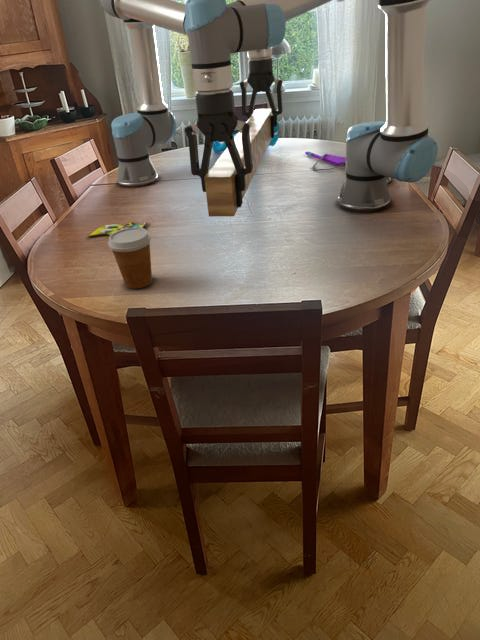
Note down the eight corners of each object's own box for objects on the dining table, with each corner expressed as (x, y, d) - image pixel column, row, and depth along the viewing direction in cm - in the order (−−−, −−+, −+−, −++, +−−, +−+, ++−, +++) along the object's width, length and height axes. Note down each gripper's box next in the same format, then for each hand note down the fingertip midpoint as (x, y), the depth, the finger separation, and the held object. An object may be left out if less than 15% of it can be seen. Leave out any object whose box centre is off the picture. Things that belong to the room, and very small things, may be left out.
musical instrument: (342, 175, 173) (362, 153, 185) (341, 169, 172) (361, 148, 184) (283, 174, 186) (305, 153, 198) (282, 169, 184) (305, 148, 196)
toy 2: (216, 133, 217) (279, 113, 206) (223, 156, 222) (286, 138, 212) (206, 142, 203) (273, 121, 193) (214, 166, 208) (280, 148, 198)
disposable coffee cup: (110, 289, 111) (98, 241, 105) (132, 270, 119) (122, 225, 112) (145, 294, 108) (135, 245, 101) (166, 275, 115) (157, 228, 109)
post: (257, 135, 164) (255, 109, 160) (273, 135, 163) (272, 108, 159) (208, 216, 103) (204, 177, 98) (234, 216, 102) (230, 176, 97)
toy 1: (137, 233, 137) (87, 234, 139) (137, 236, 137) (88, 237, 139) (147, 220, 145) (100, 221, 147) (147, 223, 146) (101, 224, 148)
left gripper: (227, 61, 145) (233, 140, 158) (289, 57, 142) (290, 139, 155) (232, 59, 152) (237, 135, 164) (291, 55, 148) (292, 133, 161)
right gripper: (162, 97, 92) (181, 212, 105) (258, 91, 89) (265, 210, 102) (173, 91, 99) (189, 200, 111) (263, 85, 95) (269, 198, 108)
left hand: (263, 137), depth 159 cm, fingers closed on post, 6 cm apart
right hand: (225, 205), depth 106 cm, fingers closed on post, 6 cm apart
